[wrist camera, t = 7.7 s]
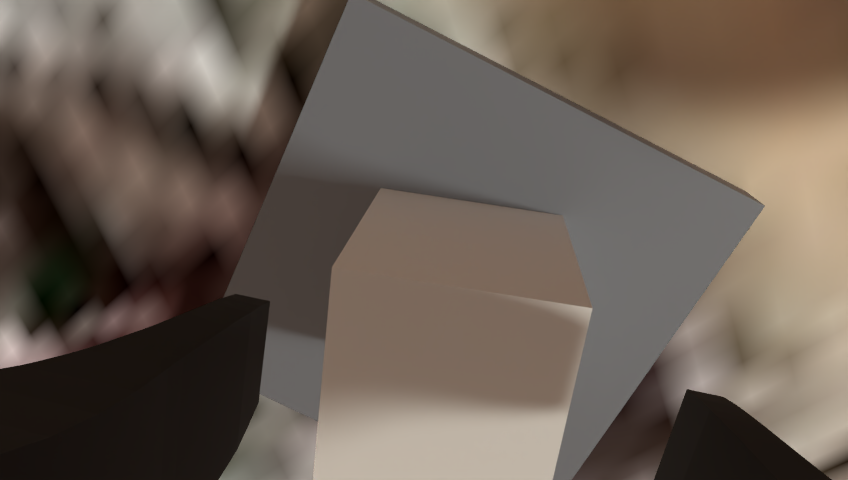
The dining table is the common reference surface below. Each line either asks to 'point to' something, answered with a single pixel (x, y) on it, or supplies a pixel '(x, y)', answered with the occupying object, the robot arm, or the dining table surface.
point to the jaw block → (450, 343)
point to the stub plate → (489, 184)
